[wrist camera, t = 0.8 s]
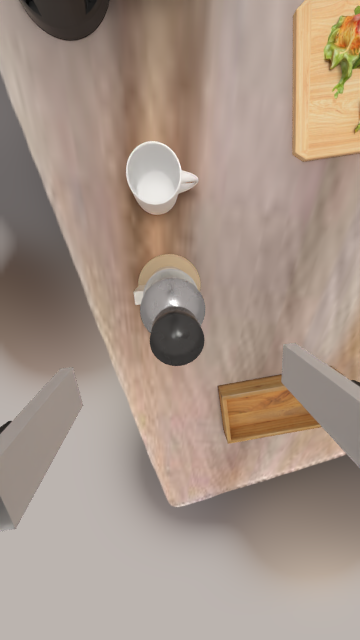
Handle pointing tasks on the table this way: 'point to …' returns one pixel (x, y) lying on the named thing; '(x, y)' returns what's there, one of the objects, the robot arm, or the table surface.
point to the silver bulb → (174, 320)
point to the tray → (261, 410)
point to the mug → (156, 177)
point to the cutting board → (326, 79)
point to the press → (165, 273)
